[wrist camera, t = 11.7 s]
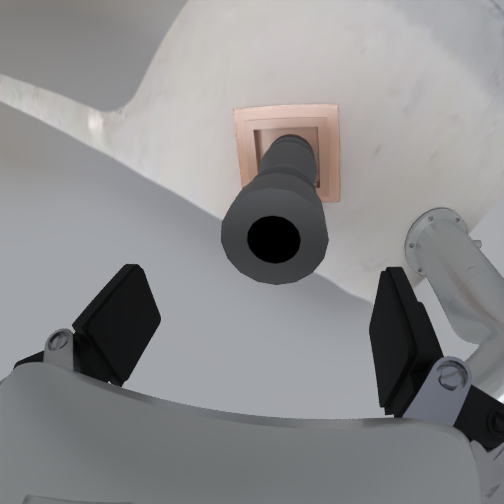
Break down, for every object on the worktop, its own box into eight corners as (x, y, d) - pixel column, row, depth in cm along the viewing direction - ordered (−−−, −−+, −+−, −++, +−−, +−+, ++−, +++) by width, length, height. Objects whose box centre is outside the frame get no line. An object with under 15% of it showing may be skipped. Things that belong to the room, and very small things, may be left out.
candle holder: (314, 177, 36) (330, 288, 15) (270, 178, 38) (224, 287, 16) (312, 133, 33) (335, 181, 12) (266, 135, 35) (207, 186, 13)
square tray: (336, 104, 31) (340, 104, 28) (338, 199, 38) (342, 209, 35) (234, 109, 34) (227, 109, 31) (245, 201, 41) (239, 211, 38)
